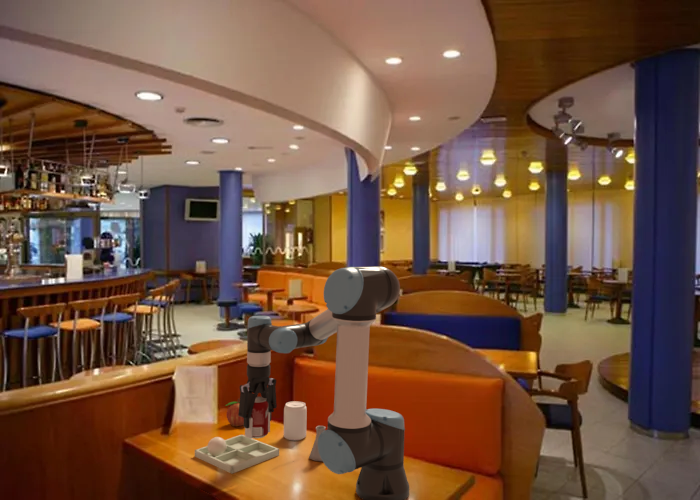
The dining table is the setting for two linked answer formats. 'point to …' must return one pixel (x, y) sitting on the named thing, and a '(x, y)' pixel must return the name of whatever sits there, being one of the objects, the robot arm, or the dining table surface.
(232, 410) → the fruit
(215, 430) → the dining table surface
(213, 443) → the ceramic egg
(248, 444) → the caddy
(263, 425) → the soda can
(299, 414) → the beverage can
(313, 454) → the flask
